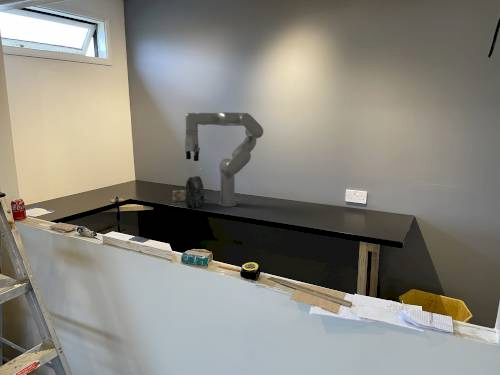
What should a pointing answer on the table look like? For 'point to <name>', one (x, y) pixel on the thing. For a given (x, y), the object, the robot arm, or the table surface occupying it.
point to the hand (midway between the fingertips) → (192, 160)
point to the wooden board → (179, 195)
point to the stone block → (194, 192)
